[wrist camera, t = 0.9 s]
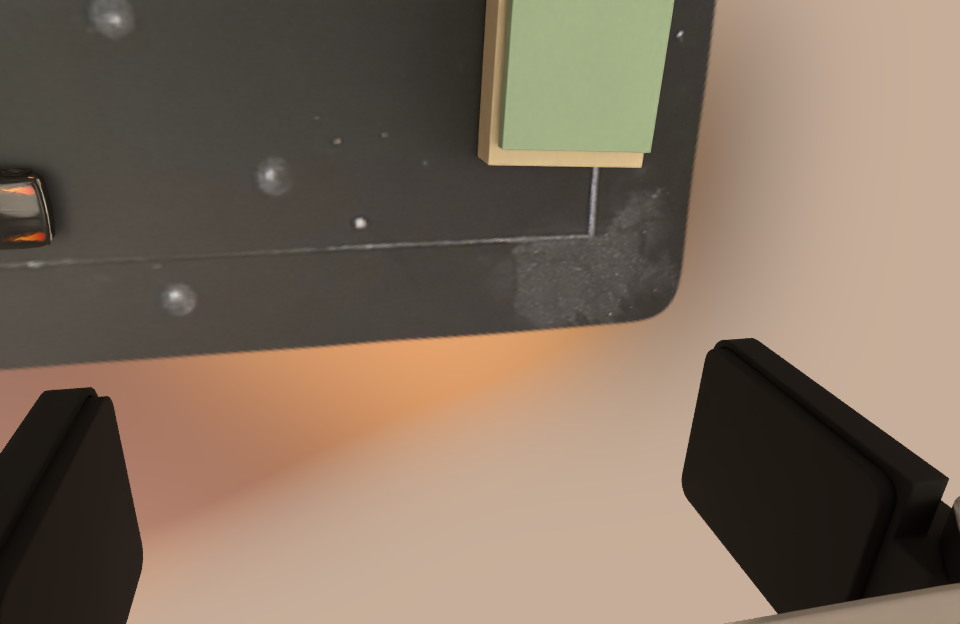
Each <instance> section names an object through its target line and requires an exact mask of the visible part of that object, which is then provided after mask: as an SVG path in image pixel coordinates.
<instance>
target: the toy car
mask: <svg viewBox="0 0 960 624" xmlns="http://www.w3.org/2000/svg"><path fill="white" fill-rule="evenodd" d="M54 236H55V227H54V218H53V211H52V206H51V202H50V198H49V195H48V192H47V188H46V185H45V183H44V180H43V178H42V176H41V175H40V174H38V173H36V172H34V173H32V171H31V170H30V169H23V168H17V169H6V170H2V171H0V250H6V249H24V248H35V247H43V246H44V247H45V246H48V245H50V243H51V240H52V238H54Z"/></svg>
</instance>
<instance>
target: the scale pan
mask: <svg viewBox="0 0 960 624" xmlns="http://www.w3.org/2000/svg"><path fill="white" fill-rule="evenodd" d="M673 6H674V0H508V11H507V25H506V40H505V54H504V69H503V83H502V98H501V112H500V127H499V141H498V147H500V148H501V149H503V150H547V151H591V152H636V153H650V152H651V146H652V140H653V133H654V127H655V121H656V114H657V108H658V102H659V95H660V89H661V82H662V76H663V70H664V63H665V57H666V50H667V44H668V38H669V31H670V25H671V19H672V12H673Z"/></svg>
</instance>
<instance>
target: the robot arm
mask: <svg viewBox="0 0 960 624" xmlns="http://www.w3.org/2000/svg"><path fill="white" fill-rule="evenodd" d="M948 480H949V478H948V477H946V476H945V475H944V474H942V473H941V472H940V471H938V470H937V469H935V468H934V467H933V466H931V465H930V464H928V463H927V462H926V461H924V460H923V459H922V458H920V457H919V456H917V455H916V454H915V453H913V452H912V451H910V450H909V449H907V448H906V447H905V446H903V445H902V444H901V443H899V442H898V441H896V440H895V439H894V438H892V437H891V436H890V435H888V434H887V433H885V432H884V431H883V430H881V429H880V428H879V427H877V426H876V425H874V424H873V423H872V422H870V421H869V420H867V419H866V418H865V417H863V416H862V415H860V414H859V413H858V412H856V411H855V410H854V409H852V408H851V407H849V406H848V405H847V404H845V403H844V402H842V401H841V400H840V399H838V398H837V397H836V396H834V395H833V394H831V393H830V392H829V391H827V390H826V389H824V388H823V387H822V386H820V385H819V384H817V383H816V382H815V381H813V380H812V379H810V378H809V377H808V376H806V375H805V374H804V373H802V372H801V371H800V370H798V369H797V368H795V367H794V366H793V365H791V364H790V363H788V362H787V361H786V360H784V359H783V358H781V357H780V356H779V355H777V354H776V353H775V352H773V351H772V350H770V349H769V348H768V347H766V346H765V345H763V344H762V343H761V342H759V341H758V340H756V339H754V338H745V339H732V340H721V341H719V342H718V343H717V344H716V345H715V347H714V349H712V350H710V351H709V352H708V353H707V355H706V358H705V363H704V368H703V373H702V378H701V383H700V388H699V393H698V398H697V403H696V408H695V413H694V418H693V423H692V428H691V433H690V438H689V443H688V448H687V453H686V458H685V463H684V468H683V473H682V488H683V491H684V494H685V496H686V498H687V499H688V501H689V502H690V503H691V504H692V506H693V507H694V508H695V510H696V511H697V512H698V513H699V514H700V516H701V517H702V518H703V520H704V521H705V522H706V523H707V525H708V526H709V527H710V528H711V530H712V531H713V532H714V534H715V535H716V536H717V537H718V539H719V540H720V541H721V542H722V544H723V545H724V546H725V547H726V549H727V550H728V551H729V553H730V554H731V555H732V556H733V558H734V559H735V560H736V562H737V563H738V564H739V565H740V567H741V568H742V569H743V570H744V572H745V573H746V574H747V575H748V577H749V578H750V579H751V580H752V582H753V583H754V584H755V586H756V587H757V588H758V589H759V591H760V592H761V593H762V594H763V596H764V597H765V598H766V600H767V601H768V602H769V603H770V605H771V606H772V607H773V608H774V610H775V611H776V612H777V613H778V614H777V615H772V616H765V617H760V618H754V619H749V620H743V621H738V622H732V623H726V624H960V497H958V498H957V499H956V500H955V502H954V504H953V507H952V508H950V507H949V506H948V505H947V504H945V503H944V502H943V501H941V498H942V495H943V493H944V491H945V488H946V485H947V483H948ZM142 563H143V548H142V542H141V537H140V532H139V527H138V523H137V517H136V513H135V508H134V504H133V498H132V494H131V488H130V484H129V479H128V474H127V469H126V465H125V459H124V455H123V450H122V445H121V440H120V435H119V431H118V425H117V421H116V416H115V411H114V406H113V403H112V400H111V399H110V397H108V396H105V397H98V395H97V393H96V391H95V390H94V389H93V388H92V387H88V388H76V389H63V390H50V391H49V390H48V391H44V392H43V393H42V394H41V395H40V397H39V398H38V400H37V401H36V403H35V404H34V406H33V407H32V408H31V410H30V411H29V413H28V414H27V416H26V417H25V419H24V420H23V421H22V423H21V424H20V426H19V428H18V429H17V430H16V432H15V433H14V435H13V436H12V437H11V439H10V440H9V442H8V443H7V445H6V446H5V448H4V449H3V451H2V452H1V453H0V624H126V622H127V619H128V616H129V612H130V608H131V605H132V602H133V598H134V595H135V591H136V588H137V584H138V581H139V578H140V574H141V570H142Z"/></svg>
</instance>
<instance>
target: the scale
mask: <svg viewBox="0 0 960 624" xmlns="http://www.w3.org/2000/svg"><path fill="white" fill-rule="evenodd" d="M507 11H508V0H486V17H485V35H484V52H483V69H482V87H481V104H480V121H479V139H478V157H479V158H480V159H482V160H483V161H484V162H485V163H486V164H488V165H509V166H570V167H630V168H641V167H642V160H643V154H644V153H636V152H591V151H547V150H503V149H501V148H500V147H498V141H499V127H500V112H501V98H502V83H503V69H504V54H505V40H506V25H507Z"/></svg>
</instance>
